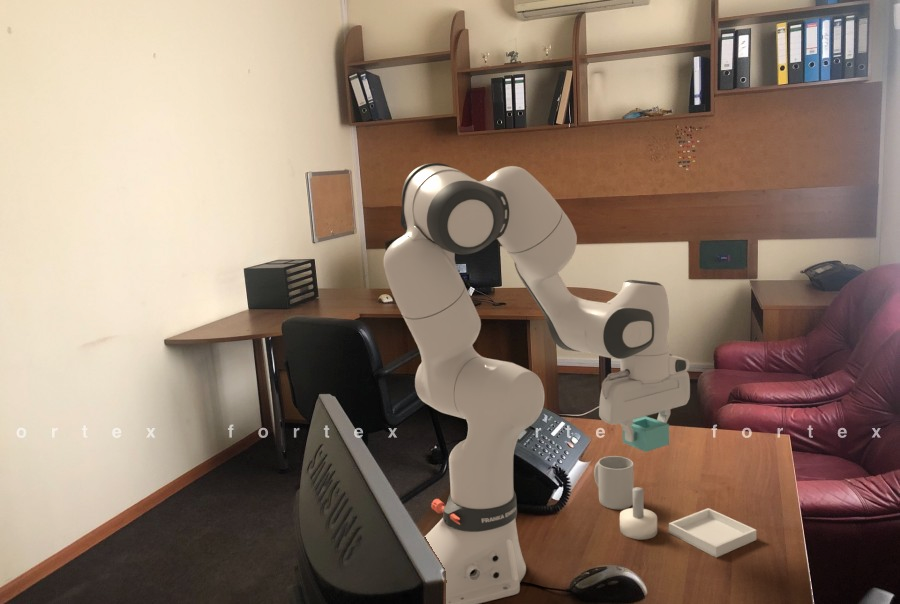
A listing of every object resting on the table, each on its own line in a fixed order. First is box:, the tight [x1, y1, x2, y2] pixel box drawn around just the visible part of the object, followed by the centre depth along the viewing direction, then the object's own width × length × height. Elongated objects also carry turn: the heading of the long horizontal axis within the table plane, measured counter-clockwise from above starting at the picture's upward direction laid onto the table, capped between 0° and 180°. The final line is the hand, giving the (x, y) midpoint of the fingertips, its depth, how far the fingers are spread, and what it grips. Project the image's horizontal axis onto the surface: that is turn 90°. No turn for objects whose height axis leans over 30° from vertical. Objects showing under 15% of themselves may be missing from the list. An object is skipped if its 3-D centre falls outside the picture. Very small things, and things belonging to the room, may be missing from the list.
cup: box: [593, 455, 635, 510], centre depth 147 cm, size 7×10×9 cm
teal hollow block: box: [622, 416, 670, 453], centre depth 132 cm, size 6×8×4 cm
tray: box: [668, 507, 758, 558], centre depth 131 cm, size 11×11×2 cm
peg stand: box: [619, 487, 658, 541], centre depth 134 cm, size 7×7×8 cm
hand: (645, 436), depth 131 cm, fingers closed on teal hollow block, 6 cm apart
